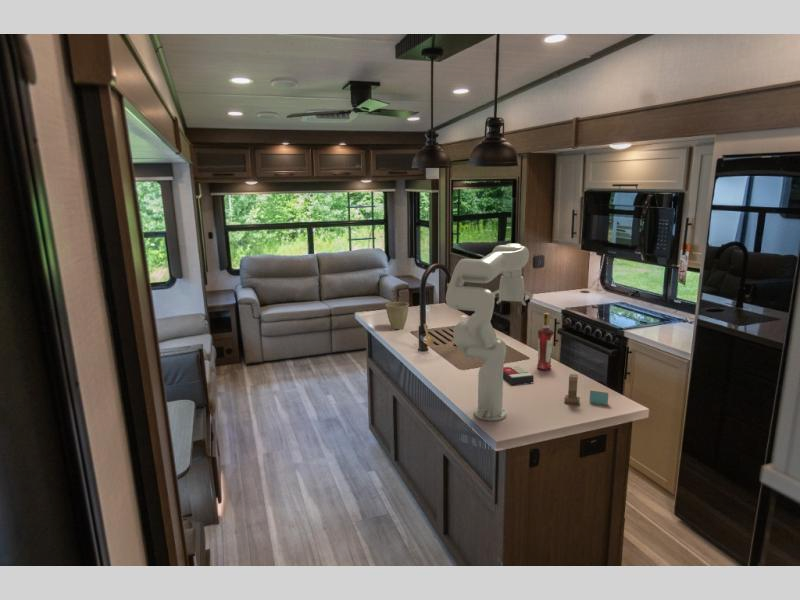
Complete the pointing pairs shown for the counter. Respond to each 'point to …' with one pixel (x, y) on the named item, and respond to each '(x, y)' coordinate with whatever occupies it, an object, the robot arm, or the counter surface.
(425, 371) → the counter surface
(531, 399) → the counter surface
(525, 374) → the calculator
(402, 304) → the plant pot
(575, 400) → the tan stepped block
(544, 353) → the liquor
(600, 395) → the tile
